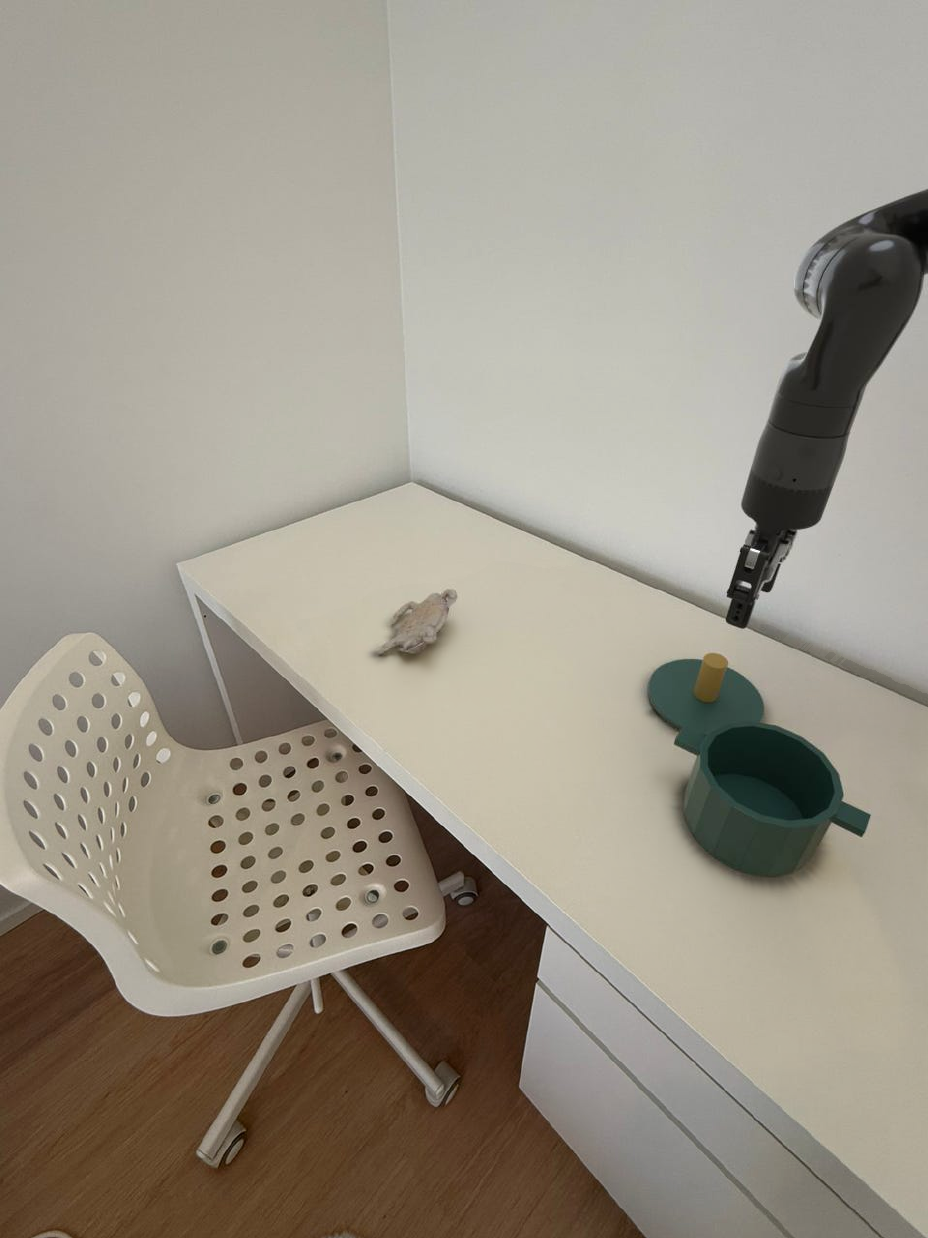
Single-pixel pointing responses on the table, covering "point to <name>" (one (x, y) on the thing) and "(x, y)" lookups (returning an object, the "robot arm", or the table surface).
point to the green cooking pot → (762, 797)
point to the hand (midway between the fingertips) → (748, 606)
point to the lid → (703, 694)
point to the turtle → (421, 622)
